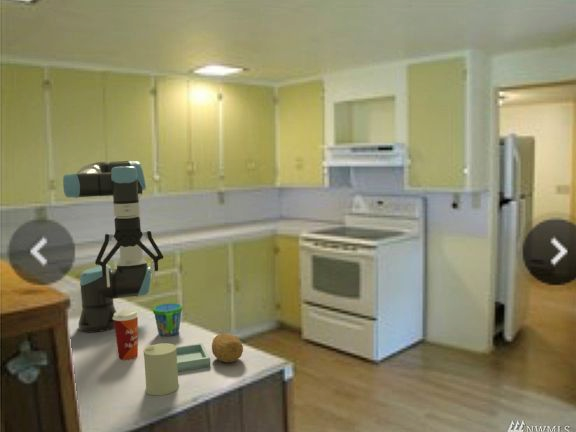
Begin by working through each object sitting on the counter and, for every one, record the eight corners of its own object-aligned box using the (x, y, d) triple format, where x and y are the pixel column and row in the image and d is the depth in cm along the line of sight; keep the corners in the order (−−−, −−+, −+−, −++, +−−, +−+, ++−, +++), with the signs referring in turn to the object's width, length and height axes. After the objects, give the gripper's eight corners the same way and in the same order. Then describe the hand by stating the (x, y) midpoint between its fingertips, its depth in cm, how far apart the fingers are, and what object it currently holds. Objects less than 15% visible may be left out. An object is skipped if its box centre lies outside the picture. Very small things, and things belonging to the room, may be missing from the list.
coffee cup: (133, 362, 164) (130, 316, 162) (110, 360, 166) (107, 316, 164) (145, 352, 172) (143, 309, 171) (123, 351, 174) (120, 308, 172)
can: (148, 382, 149) (146, 342, 147) (180, 380, 150) (178, 340, 148) (142, 396, 140) (140, 354, 138) (176, 394, 140) (174, 352, 139)
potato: (233, 350, 172) (232, 327, 171) (250, 364, 160) (249, 339, 159) (205, 356, 167) (204, 332, 166) (221, 371, 155) (219, 345, 154)
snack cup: (183, 339, 184) (181, 311, 183) (153, 341, 182) (151, 314, 181) (183, 325, 199) (182, 300, 198) (155, 328, 197) (154, 302, 196)
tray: (163, 356, 168) (163, 348, 167) (203, 350, 172) (202, 342, 172) (167, 373, 155) (167, 364, 154) (210, 366, 159) (210, 357, 158)
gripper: (83, 220, 150) (88, 291, 152) (169, 215, 158) (173, 282, 160) (84, 217, 157) (89, 285, 159) (167, 212, 165) (170, 276, 167)
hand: (131, 283), depth 160 cm, fingers open, 13 cm apart
